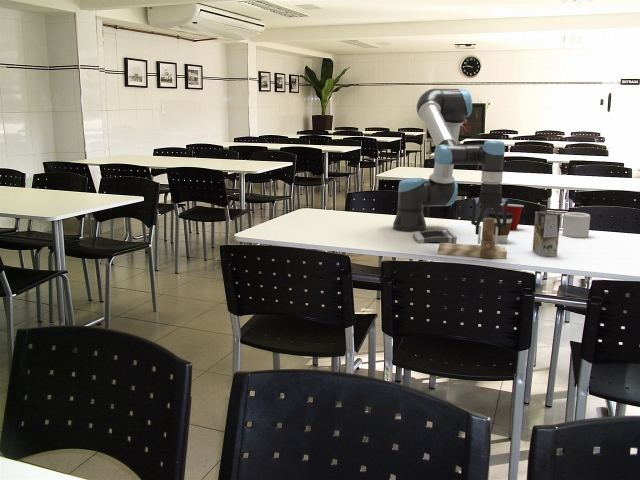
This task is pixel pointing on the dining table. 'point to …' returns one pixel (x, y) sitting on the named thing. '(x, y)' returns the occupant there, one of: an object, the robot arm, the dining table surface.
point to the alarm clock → (435, 236)
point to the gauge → (487, 239)
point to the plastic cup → (514, 214)
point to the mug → (576, 225)
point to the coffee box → (546, 233)
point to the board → (468, 250)
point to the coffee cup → (504, 229)
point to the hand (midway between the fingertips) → (487, 243)
